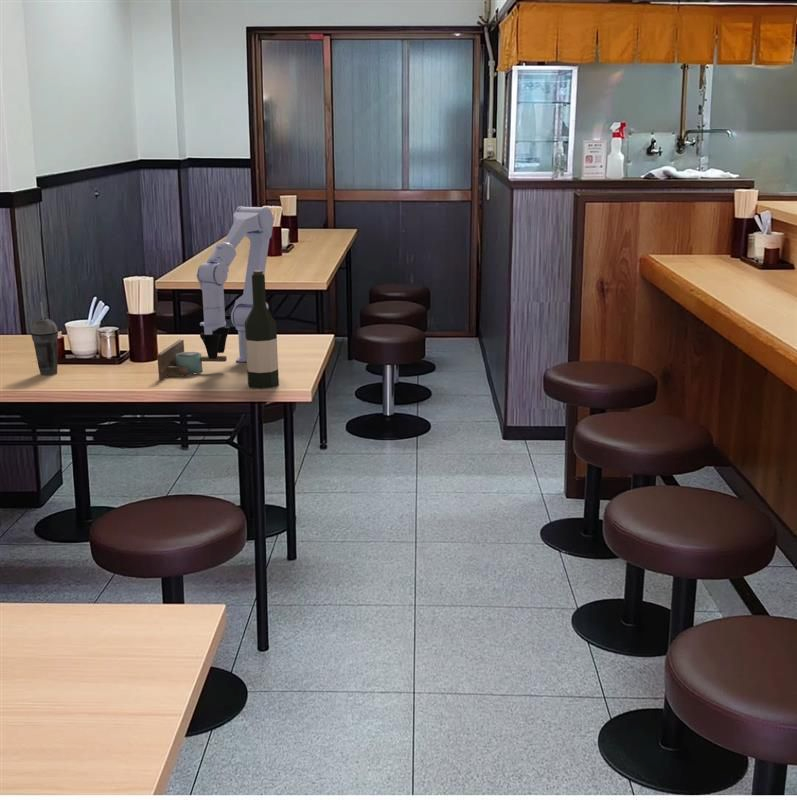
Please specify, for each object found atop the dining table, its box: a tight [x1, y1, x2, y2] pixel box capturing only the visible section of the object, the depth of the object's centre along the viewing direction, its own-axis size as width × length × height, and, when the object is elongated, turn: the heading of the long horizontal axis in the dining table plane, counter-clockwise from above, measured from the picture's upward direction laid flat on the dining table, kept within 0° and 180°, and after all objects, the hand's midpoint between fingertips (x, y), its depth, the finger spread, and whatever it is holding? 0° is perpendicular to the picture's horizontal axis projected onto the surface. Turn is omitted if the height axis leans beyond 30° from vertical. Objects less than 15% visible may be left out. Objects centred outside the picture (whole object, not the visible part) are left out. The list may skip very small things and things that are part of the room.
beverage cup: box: [30, 301, 59, 376], centre depth 278 cm, size 7×7×20 cm
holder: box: [156, 339, 190, 380], centre depth 281 cm, size 6×20×7 cm, turn 175°
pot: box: [176, 351, 228, 375], centre depth 280 cm, size 14×7×5 cm, turn 85°
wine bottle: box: [245, 270, 280, 389], centre depth 262 cm, size 8×8×30 cm
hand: (216, 355), depth 279 cm, fingers open, 7 cm apart
